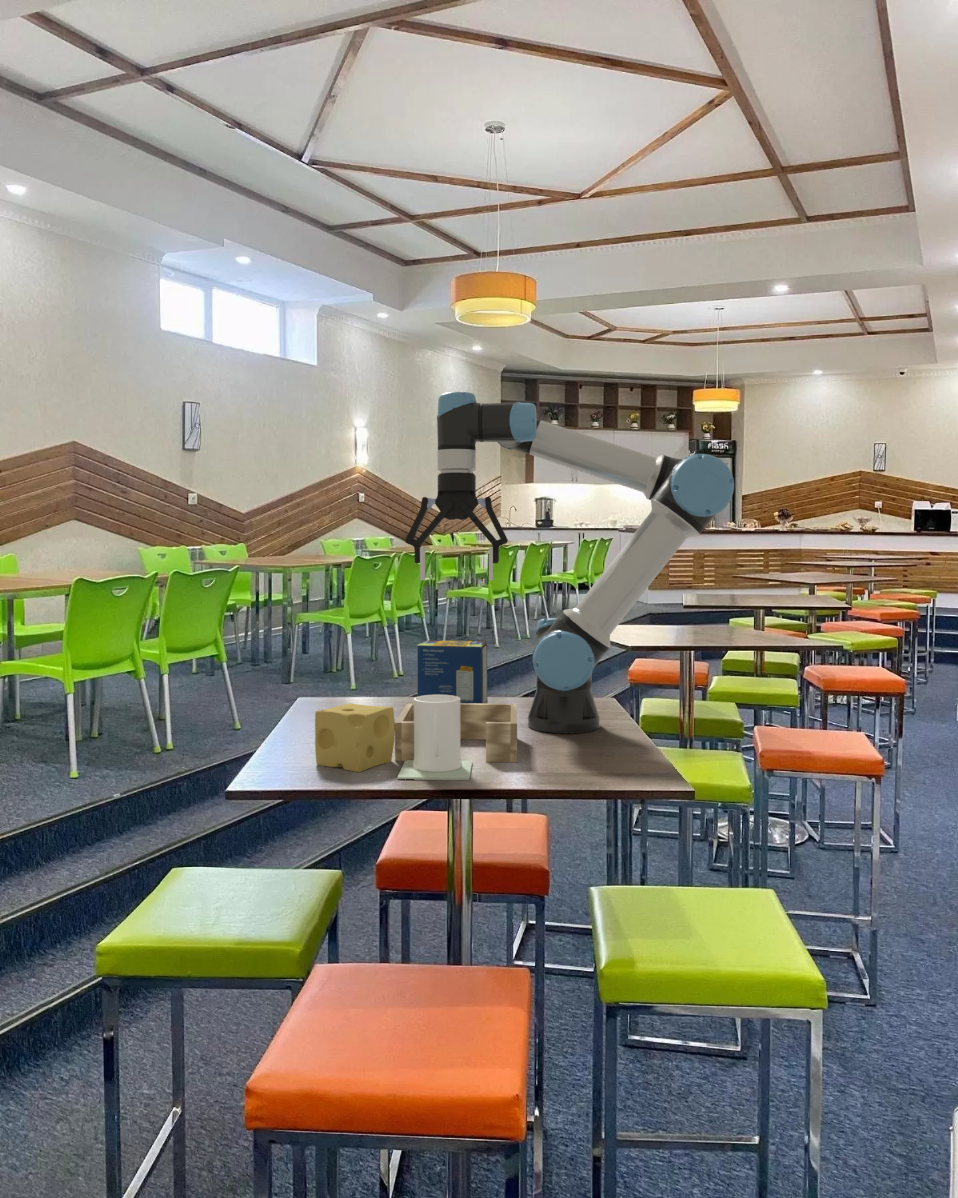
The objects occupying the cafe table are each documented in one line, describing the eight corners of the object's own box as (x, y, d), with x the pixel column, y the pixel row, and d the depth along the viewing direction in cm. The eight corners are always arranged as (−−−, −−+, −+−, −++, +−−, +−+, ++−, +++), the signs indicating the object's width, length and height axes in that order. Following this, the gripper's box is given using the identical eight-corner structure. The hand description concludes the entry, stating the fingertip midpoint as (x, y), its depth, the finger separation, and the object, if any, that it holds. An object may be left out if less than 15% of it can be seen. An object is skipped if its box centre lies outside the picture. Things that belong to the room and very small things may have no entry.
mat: (472, 763, 171) (472, 760, 171) (469, 780, 159) (469, 777, 159) (405, 762, 171) (405, 760, 171) (397, 779, 159) (397, 777, 159)
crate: (516, 738, 191) (516, 703, 191) (517, 762, 171) (517, 723, 171) (407, 737, 192) (407, 703, 192) (395, 761, 172) (394, 722, 172)
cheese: (359, 773, 164) (359, 715, 163) (311, 765, 169) (311, 709, 169) (395, 761, 172) (395, 706, 172) (349, 754, 178) (349, 701, 177)
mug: (456, 777, 159) (456, 706, 158) (405, 776, 159) (405, 705, 159) (464, 761, 170) (464, 694, 170) (417, 760, 171) (416, 693, 170)
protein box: (424, 703, 231) (424, 639, 230) (488, 705, 229) (488, 640, 228) (416, 711, 221) (415, 644, 220) (482, 713, 219) (482, 645, 217)
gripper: (519, 473, 191) (519, 579, 193) (396, 473, 192) (396, 579, 194) (520, 471, 184) (519, 581, 185) (391, 471, 185) (391, 580, 186)
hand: (456, 580), depth 190 cm, fingers open, 13 cm apart
